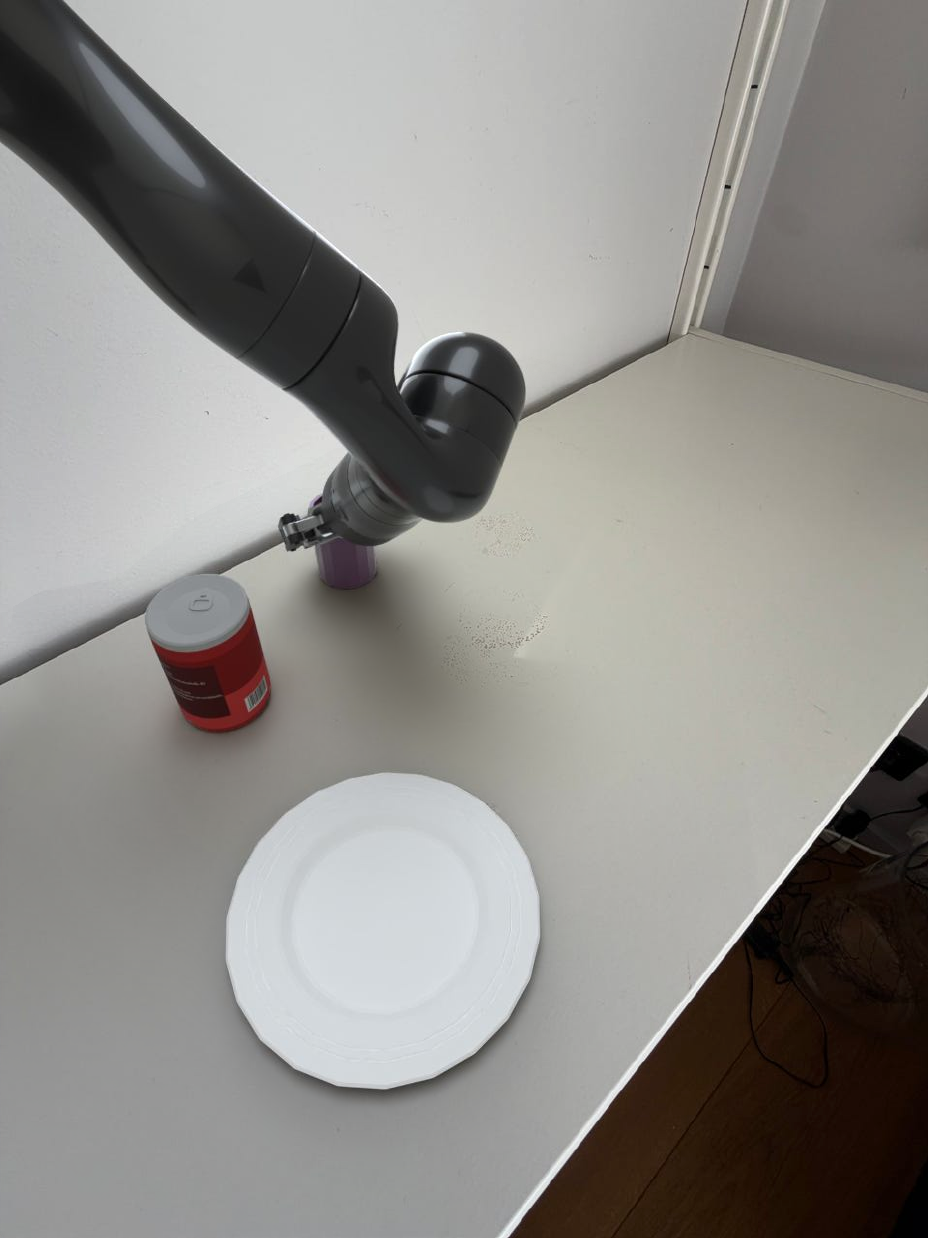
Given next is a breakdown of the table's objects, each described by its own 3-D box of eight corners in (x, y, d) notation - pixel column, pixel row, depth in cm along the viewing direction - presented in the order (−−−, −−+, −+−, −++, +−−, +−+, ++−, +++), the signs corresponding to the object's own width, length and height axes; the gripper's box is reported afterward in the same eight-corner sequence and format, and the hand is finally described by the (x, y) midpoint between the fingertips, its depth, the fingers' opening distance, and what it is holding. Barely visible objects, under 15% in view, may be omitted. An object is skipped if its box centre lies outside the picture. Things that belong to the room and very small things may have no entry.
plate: (517, 1133, 40) (520, 1127, 39) (173, 1055, 43) (165, 1046, 41) (552, 809, 55) (555, 796, 53) (294, 764, 57) (290, 750, 56)
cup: (356, 596, 71) (349, 533, 65) (307, 577, 73) (295, 514, 67) (387, 561, 75) (383, 499, 69) (339, 544, 77) (331, 482, 71)
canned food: (267, 655, 65) (243, 564, 57) (278, 723, 60) (253, 633, 52) (179, 673, 63) (143, 582, 56) (183, 745, 58) (143, 656, 50)
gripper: (443, 424, 58) (389, 473, 74) (274, 469, 53) (254, 512, 69) (473, 510, 59) (413, 541, 74) (309, 564, 54) (282, 585, 69)
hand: (337, 527), depth 72 cm, fingers open, 6 cm apart
